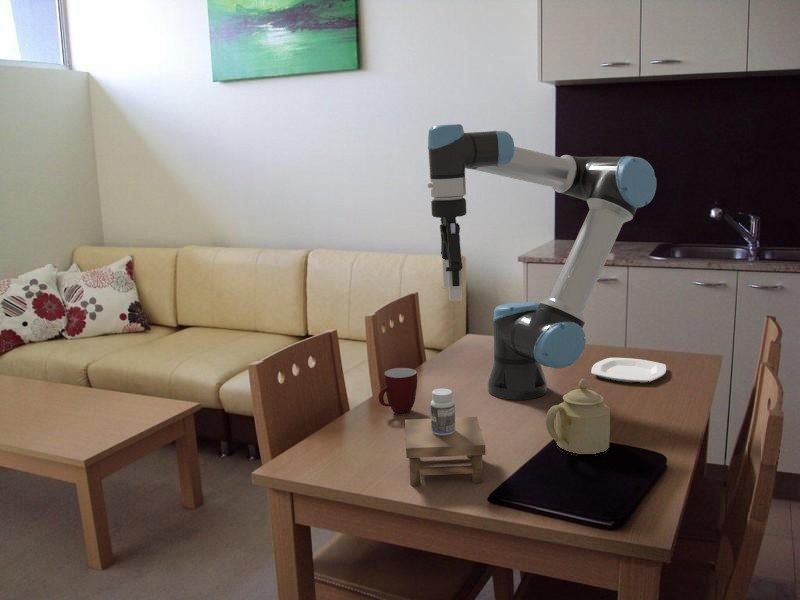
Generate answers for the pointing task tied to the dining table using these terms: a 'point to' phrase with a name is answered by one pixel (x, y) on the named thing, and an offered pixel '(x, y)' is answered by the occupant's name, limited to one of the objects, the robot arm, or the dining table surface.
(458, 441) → the small wooden bench
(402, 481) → the dining table surface
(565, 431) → the sugar bowl
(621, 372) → the plate
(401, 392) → the mug
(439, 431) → the pill bottle
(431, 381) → the dining table surface
